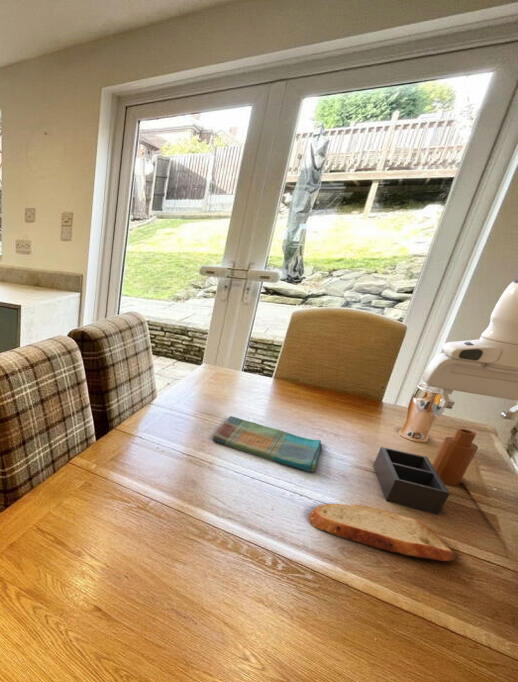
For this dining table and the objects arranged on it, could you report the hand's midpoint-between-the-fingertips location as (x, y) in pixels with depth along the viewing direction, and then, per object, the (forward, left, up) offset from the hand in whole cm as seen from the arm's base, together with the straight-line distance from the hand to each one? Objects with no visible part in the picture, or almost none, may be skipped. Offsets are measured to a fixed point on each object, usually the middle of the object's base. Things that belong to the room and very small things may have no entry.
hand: (475, 412), depth 87 cm
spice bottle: (0, 0, -18) cm, 18 cm away
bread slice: (+17, +33, -18) cm, 41 cm away
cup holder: (+9, +10, -18) cm, 22 cm away
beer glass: (+1, -23, -18) cm, 29 cm away
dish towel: (+36, +5, -18) cm, 41 cm away
